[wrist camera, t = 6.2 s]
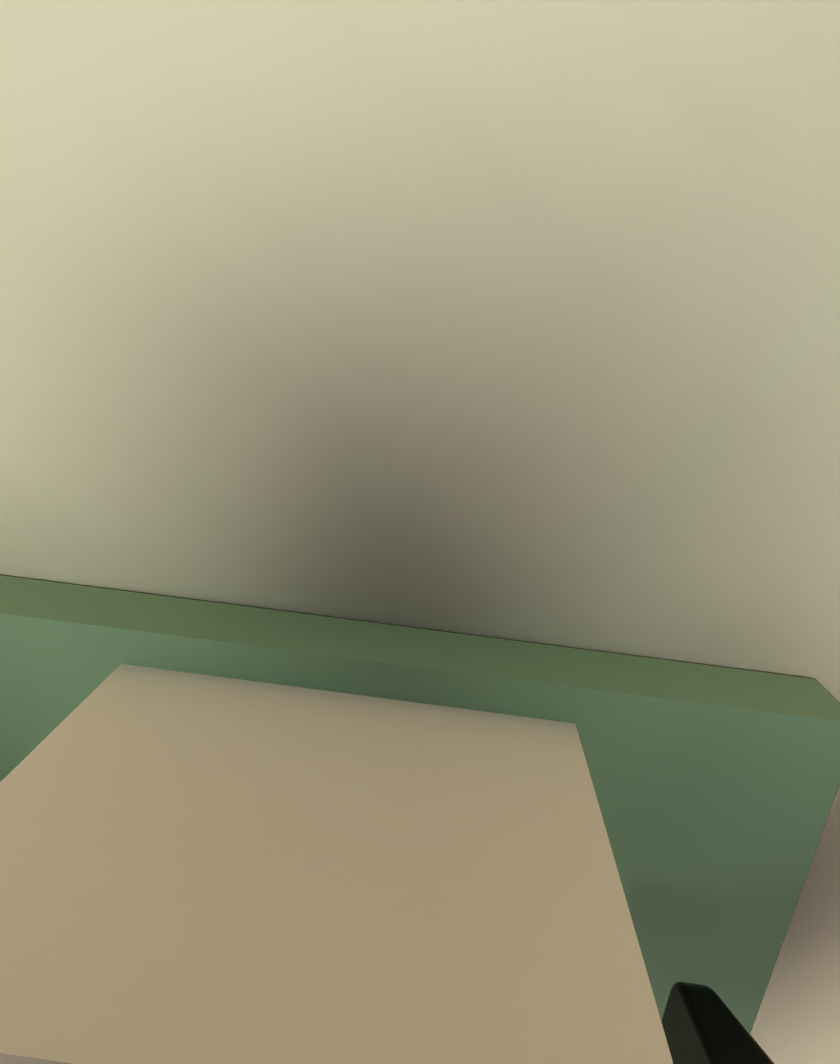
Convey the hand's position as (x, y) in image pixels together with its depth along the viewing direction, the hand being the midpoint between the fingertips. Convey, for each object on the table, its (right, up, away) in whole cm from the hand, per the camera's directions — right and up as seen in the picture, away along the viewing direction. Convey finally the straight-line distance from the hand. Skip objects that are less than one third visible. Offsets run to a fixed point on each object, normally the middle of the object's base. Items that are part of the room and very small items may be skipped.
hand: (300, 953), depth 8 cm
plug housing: (0, +1, +2) cm, 2 cm away
